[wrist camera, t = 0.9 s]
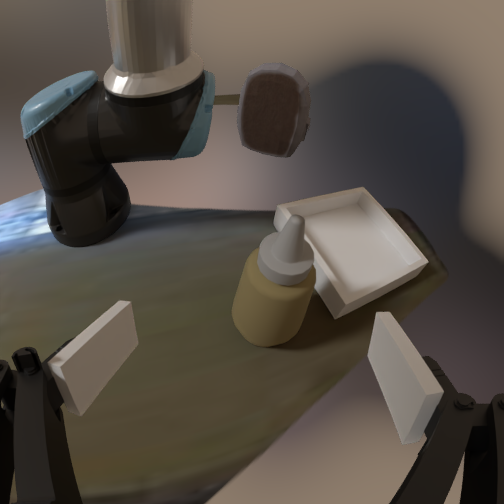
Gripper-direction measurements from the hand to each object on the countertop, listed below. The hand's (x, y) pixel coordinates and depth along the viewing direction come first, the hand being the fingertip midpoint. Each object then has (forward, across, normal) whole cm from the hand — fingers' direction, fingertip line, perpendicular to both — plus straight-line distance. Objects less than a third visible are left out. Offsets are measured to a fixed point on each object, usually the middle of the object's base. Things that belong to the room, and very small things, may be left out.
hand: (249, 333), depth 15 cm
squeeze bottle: (+19, 0, -10) cm, 21 cm away
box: (+31, +12, -3) cm, 34 cm away
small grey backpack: (+52, -1, +14) cm, 54 cm away
